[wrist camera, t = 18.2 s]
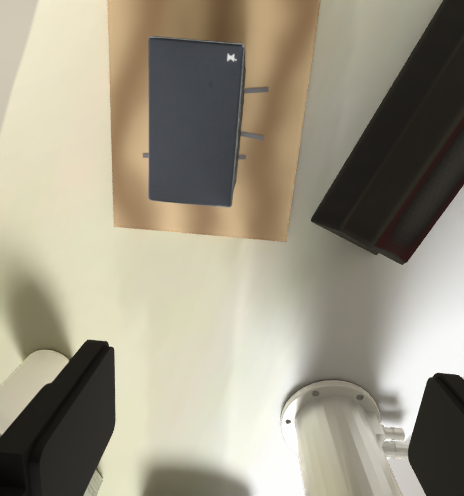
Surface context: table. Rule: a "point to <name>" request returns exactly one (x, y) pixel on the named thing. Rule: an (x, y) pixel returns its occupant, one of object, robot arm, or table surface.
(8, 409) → the can
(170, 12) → the board
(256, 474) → the table surface
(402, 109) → the barrier
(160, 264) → the table surface
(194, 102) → the small box
